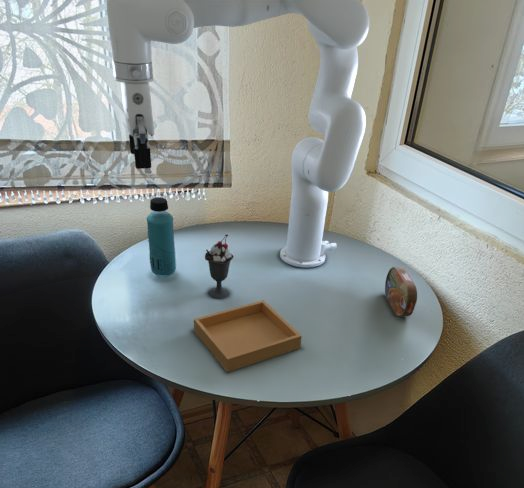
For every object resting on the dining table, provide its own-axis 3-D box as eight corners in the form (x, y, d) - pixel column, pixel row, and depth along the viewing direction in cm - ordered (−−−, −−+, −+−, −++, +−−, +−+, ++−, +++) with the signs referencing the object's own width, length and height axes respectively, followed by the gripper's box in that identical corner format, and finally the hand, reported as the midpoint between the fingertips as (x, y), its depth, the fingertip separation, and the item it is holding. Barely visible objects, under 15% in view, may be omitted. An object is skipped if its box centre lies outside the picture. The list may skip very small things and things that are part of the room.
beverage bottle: (179, 270, 134) (176, 195, 121) (173, 283, 128) (169, 206, 116) (154, 267, 134) (148, 192, 122) (147, 280, 129) (140, 203, 116)
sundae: (236, 289, 128) (238, 233, 119) (226, 302, 123) (227, 245, 113) (212, 283, 129) (212, 227, 120) (200, 296, 124) (200, 239, 115)
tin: (382, 290, 132) (389, 260, 127) (394, 290, 132) (401, 260, 127) (399, 323, 120) (408, 292, 115) (412, 323, 120) (421, 292, 115)
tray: (262, 312, 120) (263, 300, 118) (300, 348, 110) (301, 335, 108) (193, 331, 113) (193, 318, 111) (227, 372, 102) (227, 359, 100)
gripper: (159, 80, 95) (164, 173, 105) (147, 63, 108) (152, 147, 118) (117, 80, 93) (126, 175, 103) (110, 63, 106) (119, 148, 116)
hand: (140, 160), depth 111 cm, fingers open, 9 cm apart
